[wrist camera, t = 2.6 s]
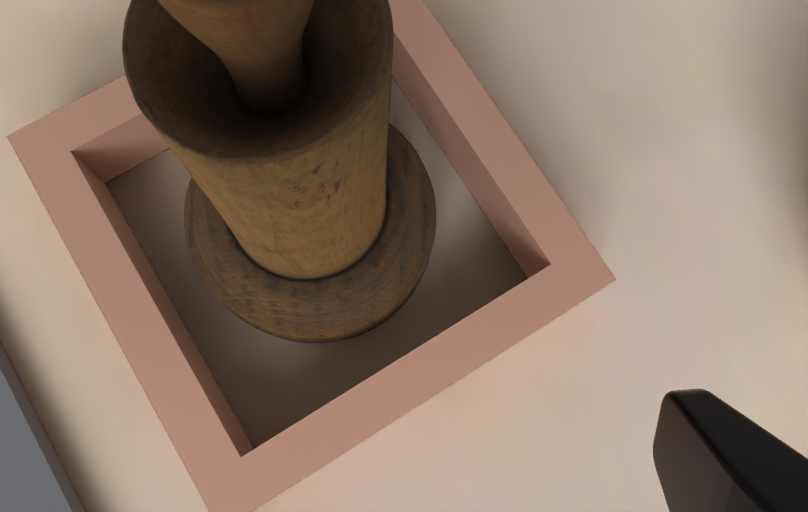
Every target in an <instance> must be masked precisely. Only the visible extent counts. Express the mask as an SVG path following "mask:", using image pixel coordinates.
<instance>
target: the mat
mask: <svg viewBox="0 0 808 512" xmlns="http://www.w3.org/2000/svg"><path fill="white" fill-rule="evenodd" d="M0 512H86V511H85V509H84V507H83V505H82V503H81V501H80V499H79V497H78V495H77V493H76V491H75V489H74V487H73V485H72V483H71V481H70V479H69V477H68V475H67V473H66V471H65V469H64V467H63V465H62V463H61V461H60V459H59V457H58V455H57V453H56V451H55V449H54V447H53V445H52V443H51V442H50V440H49V438H48V436H47V434H46V432H45V430H44V428H43V426H42V424H41V422H40V420H39V418H38V416H37V414H36V412H35V410H34V408H33V406H32V404H31V402H30V400H29V398H28V396H27V394H26V392H25V390H24V388H23V386H22V384H21V382H20V380H19V378H18V376H17V374H16V372H15V370H14V368H13V366H12V365H11V363H10V361H9V359H8V357H7V355H6V353H5V351H4V349H3V347H2V345H1V343H0Z"/></svg>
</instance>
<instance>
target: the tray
mask: <svg viewBox="0 0 808 512" xmlns="http://www.w3.org/2000/svg"><path fill="white" fill-rule="evenodd" d="M388 1H389V5H390V9H391V14H392V20H393V36H394V37H393V60H392V73H391V74H392V76H393V77H394V79H395V80H396V82H397V83H398V85H399V86H400V88H401V89H402V91H403V92H404V94H405V95H406V97H407V98H408V100H409V101H410V103H411V104H412V106H413V107H414V109H415V110H416V112H417V113H418V115H419V116H420V118H421V119H422V121H423V122H424V124H425V125H426V127H427V128H428V130H429V131H430V133H431V134H432V136H433V137H434V139H435V140H436V142H437V143H438V145H439V146H440V148H441V149H442V151H443V152H444V154H445V155H446V157H447V158H448V160H449V161H450V163H451V164H452V166H453V167H454V169H455V170H456V172H457V173H458V175H459V176H460V178H461V179H462V181H463V182H464V184H465V185H466V187H467V188H468V190H469V191H470V193H471V194H472V196H473V197H474V199H475V200H476V202H477V203H478V205H479V206H480V208H481V209H482V211H483V212H484V214H485V215H486V217H487V218H488V220H489V221H490V223H491V224H492V226H493V227H494V229H495V230H496V232H497V233H498V235H499V236H500V238H501V239H502V241H503V242H504V244H505V245H506V247H507V248H508V250H509V251H510V253H511V254H512V256H513V257H514V259H515V260H516V262H517V263H518V264H519V266H520V267H521V269H522V270H523V272H524V273H525V275H526V276H527V278H528V279H527V280H525V281H523V282H522V283H520V284H519V285H517V286H515V287H514V288H512V289H511V290H509V291H507V292H506V293H504V294H503V295H501V296H499V297H498V298H496V299H495V300H493V301H491V302H490V303H488V304H487V305H485V306H483V307H482V308H480V309H478V310H477V311H475V312H474V313H472V314H470V315H469V316H467V317H466V318H464V319H462V320H461V321H459V322H458V323H456V324H454V325H453V326H451V327H450V328H448V329H446V330H445V331H443V332H441V333H440V334H438V335H437V336H435V337H433V338H432V339H430V340H429V341H427V342H425V343H424V344H422V345H421V346H419V347H417V348H416V349H414V350H413V351H411V352H409V353H408V354H406V355H405V356H403V357H401V358H400V359H398V360H396V361H395V362H393V363H392V364H390V365H388V366H387V367H385V368H384V369H382V370H380V371H379V372H377V373H376V374H374V375H372V376H371V377H369V378H368V379H366V380H364V381H363V382H361V383H359V384H358V385H356V386H355V387H353V388H351V389H350V390H348V391H347V392H345V393H343V394H342V395H340V396H339V397H337V398H335V399H334V400H332V401H331V402H329V403H327V404H326V405H324V406H323V407H321V408H319V409H318V410H316V411H314V412H313V413H311V414H310V415H308V416H306V417H305V418H303V419H302V420H300V421H298V422H297V423H295V424H294V425H292V426H290V427H289V428H287V429H286V430H284V431H282V432H281V433H279V434H278V435H276V436H274V437H273V438H271V439H269V440H268V441H266V442H265V443H263V444H261V445H260V446H258V447H257V448H255V449H254V448H253V446H252V444H251V443H250V441H249V439H248V437H247V435H246V434H245V432H244V430H243V428H242V426H241V425H240V423H239V421H238V419H237V418H236V416H235V414H234V412H233V410H232V409H231V407H230V405H229V403H228V402H227V400H226V398H225V396H224V394H223V393H222V391H221V389H220V387H219V386H218V384H217V382H216V380H215V378H214V377H213V375H212V373H211V371H210V369H209V368H208V366H207V364H206V362H205V361H204V359H203V357H202V355H201V353H200V352H199V350H198V348H197V346H196V345H195V343H194V341H193V339H192V337H191V336H190V334H189V332H188V330H187V328H186V327H185V325H184V323H183V321H182V320H181V318H180V316H179V314H178V312H177V311H176V309H175V307H174V305H173V304H172V302H171V300H170V298H169V296H168V295H167V293H166V291H165V289H164V288H163V286H162V284H161V282H160V280H159V279H158V277H157V275H156V273H155V271H154V270H153V268H152V266H151V264H150V263H149V261H148V259H147V257H146V255H145V254H144V252H143V250H142V248H141V247H140V245H139V243H138V241H137V239H136V238H135V236H134V234H133V232H132V230H131V229H130V227H129V225H128V223H127V222H126V220H125V218H124V216H123V214H122V213H121V211H120V209H119V207H118V206H117V204H116V202H115V200H114V198H113V197H112V195H111V193H110V191H109V190H108V188H107V186H106V184H105V182H107V181H109V180H111V179H113V178H114V177H116V176H118V175H120V174H122V173H124V172H126V171H127V170H129V169H131V168H133V167H135V166H137V165H139V164H140V163H142V162H144V161H146V160H148V159H150V158H152V157H153V156H155V155H157V154H159V153H161V152H163V151H165V150H166V149H168V148H170V147H169V146H168V144H167V143H166V142H165V141H164V139H163V138H162V137H161V135H160V134H159V133H158V132H157V130H156V129H155V128H154V127H153V125H152V124H151V123H150V121H149V120H148V119H147V118H146V117H145V116H144V114H143V113H142V112H141V110H140V108H139V107H138V105H137V103H136V102H135V99H134V97H133V94H132V91H131V89H130V86H129V84H128V81H127V77H126V75H124V76H122V77H120V78H118V79H116V80H114V81H112V82H110V83H109V84H107V85H105V86H103V87H101V88H99V89H97V90H95V91H93V92H91V93H89V94H87V95H85V96H83V97H81V98H79V99H78V100H76V101H74V102H72V103H70V104H68V105H66V106H64V107H62V108H60V109H58V110H56V111H54V112H52V113H50V114H48V115H47V116H45V117H43V118H41V119H39V120H37V121H35V122H33V123H31V124H29V125H27V126H25V127H23V128H21V129H19V130H17V131H16V132H14V133H12V134H10V135H8V136H7V138H8V139H9V141H10V143H11V145H12V147H13V149H14V151H15V152H16V154H17V156H18V158H19V160H20V162H21V164H22V165H23V167H24V169H25V171H26V173H27V175H28V177H29V178H30V180H31V182H32V184H33V186H34V188H35V190H36V191H37V193H38V195H39V197H40V199H41V201H42V202H43V204H44V206H45V208H46V210H47V212H48V214H49V215H50V217H51V219H52V221H53V223H54V225H55V227H56V228H57V230H58V232H59V234H60V236H61V238H62V240H63V241H64V243H65V245H66V247H67V249H68V251H69V252H70V254H71V256H72V258H73V260H74V262H75V264H76V265H77V267H78V269H79V271H80V273H81V275H82V277H83V278H84V280H85V282H86V284H87V286H88V288H89V290H90V291H91V293H92V295H93V297H94V299H95V301H96V303H97V304H98V306H99V308H100V310H101V312H102V314H103V315H104V317H105V319H106V321H107V323H108V325H109V327H110V328H111V330H112V332H113V334H114V336H115V338H116V340H117V341H118V343H119V345H120V347H121V349H122V351H123V353H124V354H125V356H126V358H127V360H128V362H129V364H130V366H131V367H132V369H133V371H134V373H135V375H136V377H137V378H138V380H139V382H140V384H141V386H142V388H143V390H144V391H145V393H146V395H147V397H148V399H149V401H150V403H151V404H152V406H153V408H154V410H155V412H156V414H157V416H158V417H159V419H160V421H161V423H162V425H163V427H164V428H165V430H166V432H167V434H168V436H169V438H170V440H171V441H172V443H173V445H174V447H175V449H176V451H177V453H178V454H179V456H180V458H181V460H182V462H183V464H184V466H185V467H186V469H187V471H188V473H189V475H190V477H191V479H192V480H193V482H194V484H195V486H196V488H197V490H198V491H199V493H200V495H201V497H202V499H203V501H204V503H205V504H206V506H207V508H208V510H209V512H252V511H253V510H255V509H256V508H258V507H260V506H261V505H263V504H264V503H266V502H267V501H269V500H271V499H272V498H274V497H275V496H277V495H278V494H280V493H282V492H283V491H285V490H286V489H288V488H289V487H291V486H293V485H294V484H296V483H297V482H299V481H300V480H302V479H304V478H305V477H307V476H308V475H310V474H311V473H313V472H315V471H316V470H318V469H319V468H321V467H322V466H324V465H326V464H327V463H329V462H330V461H332V460H333V459H335V458H337V457H338V456H340V455H341V454H343V453H344V452H346V451H348V450H349V449H351V448H352V447H354V446H355V445H357V444H359V443H360V442H362V441H363V440H365V439H366V438H368V437H370V436H371V435H373V434H374V433H376V432H377V431H379V430H381V429H382V428H384V427H385V426H387V425H388V424H390V423H392V422H393V421H395V420H396V419H398V418H399V417H401V416H403V415H404V414H406V413H407V412H409V411H410V410H412V409H413V408H415V407H417V406H418V405H420V404H421V403H423V402H424V401H426V400H428V399H429V398H431V397H432V396H434V395H435V394H437V393H439V392H440V391H442V390H443V389H445V388H446V387H448V386H450V385H451V384H453V383H454V382H456V381H457V380H459V379H461V378H462V377H464V376H465V375H467V374H468V373H470V372H472V371H473V370H475V369H476V368H478V367H479V366H481V365H483V364H484V363H486V362H487V361H489V360H490V359H492V358H494V357H495V356H497V355H498V354H500V353H501V352H503V351H505V350H506V349H508V348H509V347H511V346H512V345H514V344H516V343H517V342H519V341H520V340H522V339H523V338H525V337H527V336H528V335H530V334H531V333H533V332H534V331H536V330H538V329H539V328H541V327H542V326H544V325H545V324H547V323H549V322H550V321H552V320H553V319H555V318H556V317H558V316H560V315H561V314H563V313H564V312H566V311H567V310H569V309H571V308H572V307H574V306H575V305H577V304H578V303H580V302H582V301H583V300H585V299H586V298H588V297H589V296H591V295H593V294H594V293H596V292H597V291H599V290H600V289H602V288H604V287H605V286H607V285H608V284H610V283H611V282H613V281H615V280H616V278H615V277H614V275H613V274H612V273H611V271H610V270H609V268H608V267H607V265H606V264H605V262H604V261H603V260H602V258H601V257H600V255H599V254H598V252H597V251H596V249H595V248H594V247H593V245H592V244H591V242H590V241H589V239H588V238H587V236H586V235H585V234H584V232H583V231H582V229H581V228H580V226H579V225H578V223H577V222H576V221H575V219H574V218H573V216H572V215H571V213H570V212H569V210H568V209H567V208H566V206H565V205H564V203H563V202H562V200H561V199H560V197H559V196H558V195H557V193H556V192H555V190H554V189H553V187H552V186H551V184H550V183H549V182H548V180H547V179H546V177H545V176H544V174H543V173H542V171H541V170H540V169H539V167H538V166H537V164H536V163H535V161H534V160H533V158H532V157H531V156H530V154H529V153H528V151H527V150H526V148H525V147H524V145H523V144H522V143H521V141H520V140H519V138H518V137H517V135H516V134H515V132H514V131H513V130H512V128H511V127H510V125H509V124H508V122H507V121H506V119H505V118H504V117H503V115H502V114H501V112H500V111H499V109H498V108H497V106H496V105H495V104H494V102H493V101H492V99H491V98H490V96H489V95H488V93H487V92H486V91H485V89H484V88H483V86H482V85H481V83H480V82H479V80H478V79H477V78H476V76H475V75H474V73H473V72H472V70H471V69H470V67H469V66H468V65H467V63H466V62H465V60H464V59H463V57H462V56H461V54H460V53H459V52H458V50H457V49H456V47H455V46H454V44H453V43H452V41H451V40H450V39H449V37H448V36H447V34H446V33H445V31H444V30H443V28H442V27H441V26H440V24H439V23H438V21H437V20H436V18H435V17H434V15H433V14H432V13H431V11H430V10H429V8H428V7H427V5H426V4H425V2H424V1H423V0H388Z"/></svg>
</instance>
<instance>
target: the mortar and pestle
mask: <svg viewBox="0 0 808 512" xmlns="http://www.w3.org/2000/svg"><path fill="white" fill-rule="evenodd" d="M393 37H394V36H393V20H392V14H391V9H390V5H389V1H388V0H131V3H130V6H129V8H128V11H127V14H126V18H125V24H124V30H123V41H122V52H123V62H124V68H125V73H126V77H127V81H128V84H129V86H130V89H131V91H132V94H133V97H134V99H135V102H136V103H137V105H138V107H139V108H140V110H141V112H142V113H143V114H144V116H145V117H146V118H147V119H148V120H149V121H150V123H151V124H152V125H153V127H154V128H155V129H156V130H157V132H158V133H159V134H160V135H161V137H162V138H163V139H164V141H165V142H166V143H167V144H168V146H169V147H170V148H171V150H172V151H173V152H174V153H175V155H176V156H177V157H178V159H179V160H180V161H181V162H182V164H183V165H184V166H185V168H186V169H187V170H188V172H189V173H190V174H191V175H192V178H191V181H190V184H189V187H188V191H187V195H186V200H185V208H184V226H185V235H186V240H187V245H188V248H189V252H190V255H191V257H192V260H193V262H194V264H195V266H196V269H197V270H198V272H199V274H200V276H201V277H202V279H203V280H204V282H205V283H206V284H207V286H208V287H209V288H210V290H211V291H212V292H213V293H214V294H215V295H216V296H217V297H218V298H219V299H220V300H221V301H222V302H223V303H224V304H225V305H226V306H227V307H228V308H229V309H230V310H231V311H232V312H233V313H235V314H236V315H237V316H238V317H240V318H241V319H243V320H244V321H246V322H247V323H249V324H250V325H252V326H254V327H255V328H257V329H259V330H261V331H264V332H266V333H268V334H271V335H274V336H277V337H280V338H283V339H287V340H291V341H297V342H304V343H327V342H335V341H340V340H345V339H349V338H352V337H355V336H358V335H360V334H363V333H365V332H367V331H369V330H371V329H373V328H375V327H376V326H378V325H380V324H381V323H383V322H384V321H385V320H387V319H388V318H389V317H391V316H392V315H393V314H394V313H395V312H396V311H397V310H399V308H400V307H401V306H402V305H403V304H404V303H405V302H406V301H407V300H408V298H409V297H410V296H411V294H412V293H413V292H414V290H415V288H416V287H417V285H418V283H419V282H420V280H421V278H422V275H423V273H424V271H425V268H426V265H427V262H428V259H429V256H430V251H431V248H432V244H433V240H434V235H435V227H436V205H435V198H434V192H433V188H432V184H431V181H430V178H429V175H428V173H427V171H426V168H425V166H424V164H423V163H422V161H421V159H420V157H419V155H418V154H417V152H416V151H415V149H414V148H413V147H412V145H411V144H410V143H409V142H408V140H407V139H406V138H405V137H404V136H403V135H402V134H401V133H400V132H399V131H398V130H397V129H396V128H395V127H393V126H392V125H391V124H390V123H389V105H390V89H391V73H392V60H393Z"/></svg>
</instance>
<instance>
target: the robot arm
mask: <svg viewBox="0 0 808 512" xmlns="http://www.w3.org/2000/svg"><path fill="white" fill-rule="evenodd" d="M653 458H654V463H655V467H656V470H657V473H658V477H659V480H660V483H661V486H662V489H663V492H664V495H665V499H666V502H667V505H668V508H669V511H670V512H808V459H807V458H806V457H804V456H803V455H801V454H800V453H799V452H797V451H796V450H794V449H793V448H791V447H790V446H788V445H787V444H785V443H784V442H782V441H781V440H779V439H778V438H777V437H775V436H774V435H772V434H771V433H769V432H768V431H766V430H765V429H763V428H762V427H760V426H759V425H757V424H756V423H755V422H753V421H752V420H750V419H749V418H747V417H746V416H744V415H743V414H741V413H740V412H738V411H737V410H735V409H734V408H733V407H731V406H730V405H728V404H727V403H725V402H724V401H722V400H721V399H719V398H718V397H716V396H715V395H713V394H712V393H710V392H709V391H706V390H704V389H689V390H677V391H671V392H668V393H667V394H666V395H665V396H664V398H663V401H662V404H661V409H660V414H659V419H658V423H657V428H656V433H655V438H654V443H653Z"/></svg>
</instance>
